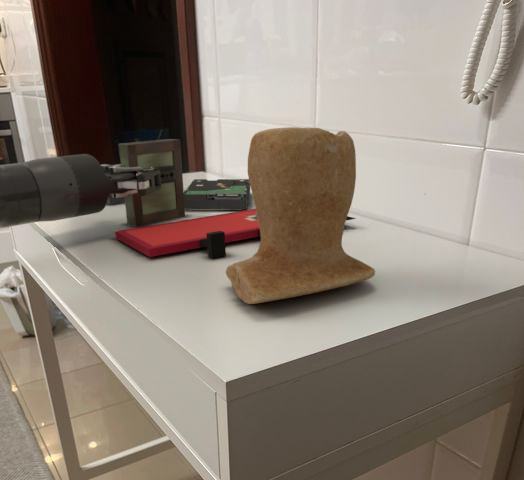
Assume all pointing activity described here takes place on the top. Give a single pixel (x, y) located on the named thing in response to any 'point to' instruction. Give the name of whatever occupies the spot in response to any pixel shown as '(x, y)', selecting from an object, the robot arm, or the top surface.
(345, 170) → the brown stone sculpture
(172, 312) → the top surface
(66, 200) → the robot arm
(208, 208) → the disk drive
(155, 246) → the red board with handle
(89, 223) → the top surface
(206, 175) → the top surface
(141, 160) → the picture frame
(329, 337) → the top surface
